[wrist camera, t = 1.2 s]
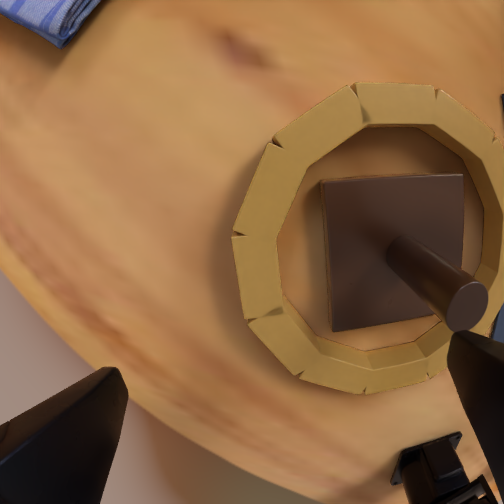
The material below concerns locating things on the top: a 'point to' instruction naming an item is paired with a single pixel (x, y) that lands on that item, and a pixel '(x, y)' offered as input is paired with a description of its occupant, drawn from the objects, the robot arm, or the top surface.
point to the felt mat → (499, 313)
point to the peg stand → (398, 251)
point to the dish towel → (49, 17)
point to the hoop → (280, 200)
